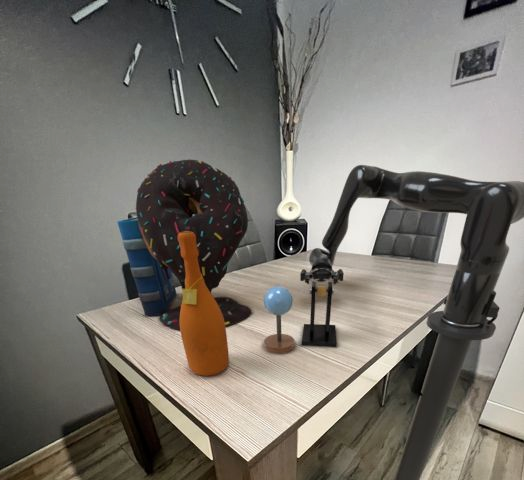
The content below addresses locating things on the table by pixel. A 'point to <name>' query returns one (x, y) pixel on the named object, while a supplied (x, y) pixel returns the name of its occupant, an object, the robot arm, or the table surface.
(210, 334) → the wine bottle
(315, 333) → the stand
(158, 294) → the book
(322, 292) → the yellow switch lever
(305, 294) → the table surface
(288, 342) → the blue lamp
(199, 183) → the dark brown sprinkled donut
